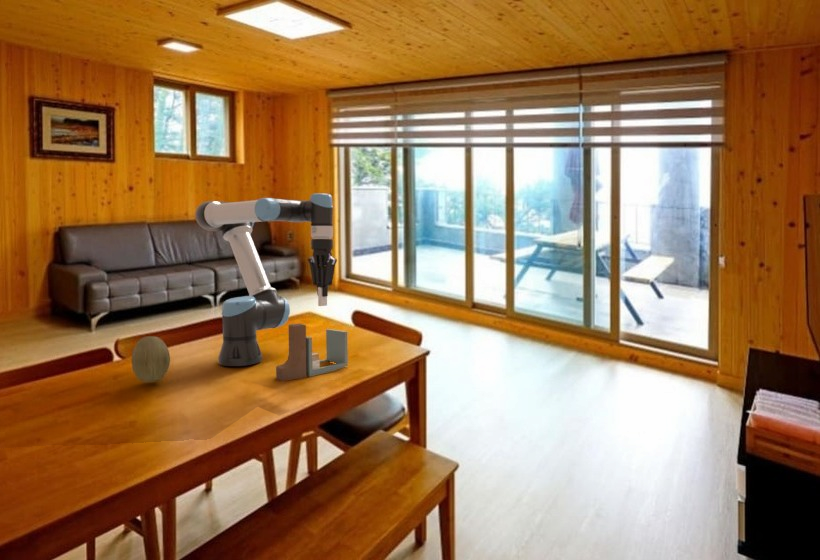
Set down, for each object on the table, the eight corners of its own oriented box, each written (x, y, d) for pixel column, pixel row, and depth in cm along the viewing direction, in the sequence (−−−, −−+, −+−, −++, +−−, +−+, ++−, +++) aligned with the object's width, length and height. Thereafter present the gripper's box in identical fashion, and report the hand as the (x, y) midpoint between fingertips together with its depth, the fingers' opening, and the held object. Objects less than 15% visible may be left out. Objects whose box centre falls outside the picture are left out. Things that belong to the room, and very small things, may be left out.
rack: (291, 372, 190) (290, 335, 189) (329, 364, 203) (328, 329, 202) (309, 376, 183) (308, 338, 183) (347, 367, 196) (347, 331, 196)
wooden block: (281, 382, 178) (280, 327, 176) (275, 379, 182) (275, 325, 180) (306, 378, 183) (306, 325, 182) (301, 375, 187) (300, 323, 185)
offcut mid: (299, 365, 191) (299, 358, 191) (306, 364, 193) (306, 357, 193) (312, 368, 186) (312, 361, 186) (319, 366, 189) (319, 359, 189)
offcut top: (300, 358, 190) (300, 352, 190) (307, 357, 193) (307, 351, 193) (311, 361, 186) (311, 355, 186) (318, 360, 188) (318, 353, 188)
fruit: (178, 378, 182) (176, 333, 181) (152, 387, 171) (150, 339, 170) (150, 376, 186) (149, 332, 185) (123, 384, 175) (121, 337, 174)
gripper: (301, 238, 193) (302, 305, 195) (326, 238, 185) (326, 308, 186) (318, 238, 199) (318, 303, 201) (342, 238, 190) (343, 306, 192)
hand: (322, 305), depth 193 cm, fingers closed
